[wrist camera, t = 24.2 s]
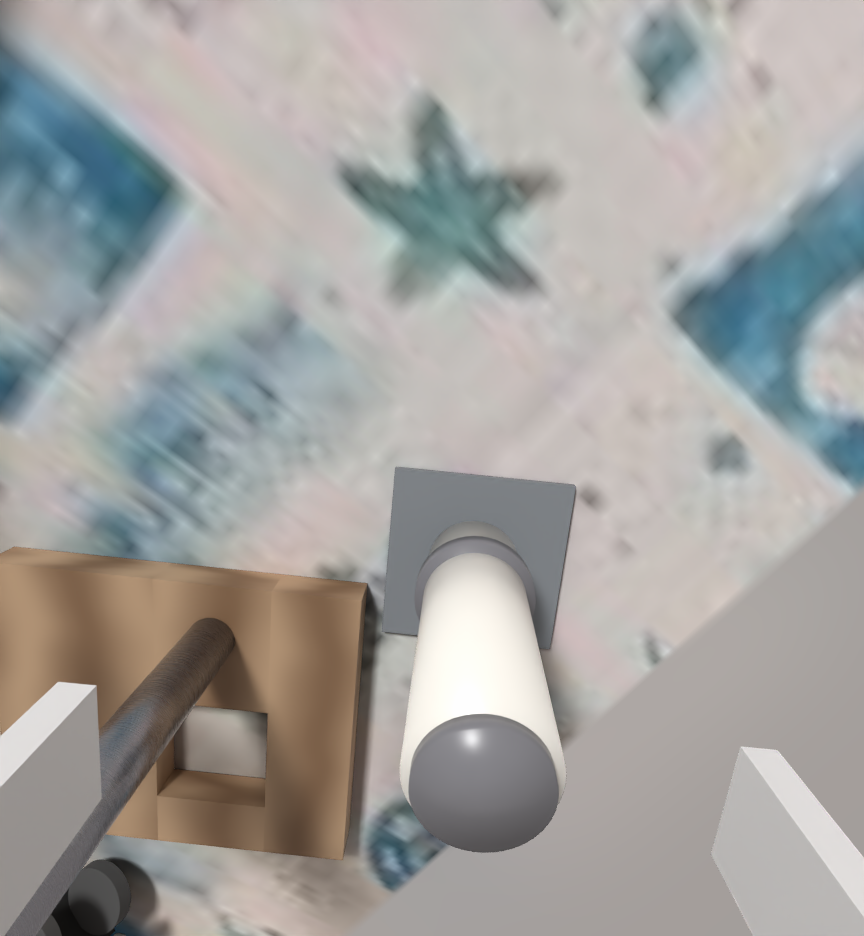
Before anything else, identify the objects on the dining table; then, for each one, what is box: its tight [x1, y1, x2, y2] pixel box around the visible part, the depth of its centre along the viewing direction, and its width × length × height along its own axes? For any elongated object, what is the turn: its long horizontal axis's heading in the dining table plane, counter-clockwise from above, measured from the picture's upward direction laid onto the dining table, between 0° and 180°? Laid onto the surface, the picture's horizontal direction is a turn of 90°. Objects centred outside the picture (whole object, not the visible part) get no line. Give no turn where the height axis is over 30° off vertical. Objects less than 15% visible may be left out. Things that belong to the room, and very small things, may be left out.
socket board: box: [0, 547, 367, 860], centre depth 31 cm, size 19×16×2 cm
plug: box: [400, 521, 566, 852], centre depth 22 cm, size 5×5×15 cm
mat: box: [382, 467, 576, 649], centre depth 30 cm, size 9×9×1 cm
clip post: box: [5, 618, 235, 936], centre depth 20 cm, size 4×4×20 cm
